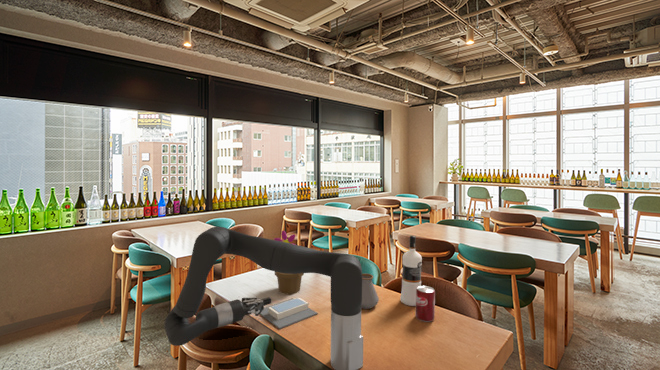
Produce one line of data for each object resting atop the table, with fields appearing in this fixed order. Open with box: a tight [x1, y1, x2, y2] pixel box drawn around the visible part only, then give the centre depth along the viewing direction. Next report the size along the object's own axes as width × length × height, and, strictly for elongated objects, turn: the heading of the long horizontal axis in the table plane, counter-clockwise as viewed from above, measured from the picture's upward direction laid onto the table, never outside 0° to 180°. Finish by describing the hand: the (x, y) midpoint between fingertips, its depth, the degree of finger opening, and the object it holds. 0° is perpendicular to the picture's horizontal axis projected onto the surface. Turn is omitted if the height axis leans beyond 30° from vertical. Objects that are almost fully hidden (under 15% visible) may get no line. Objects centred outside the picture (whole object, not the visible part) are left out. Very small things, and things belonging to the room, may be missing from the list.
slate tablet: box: [268, 297, 309, 320], centre depth 128 cm, size 7×3×15 cm
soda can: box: [414, 285, 436, 323], centre depth 124 cm, size 7×7×12 cm
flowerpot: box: [273, 230, 305, 295], centre depth 150 cm, size 14×14×30 cm
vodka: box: [399, 235, 423, 307], centre depth 138 cm, size 9×9×30 cm
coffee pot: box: [361, 273, 380, 310], centre depth 138 cm, size 21×12×15 cm, turn 58°
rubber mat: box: [259, 297, 318, 330], centre depth 128 cm, size 18×18×1 cm
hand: (270, 300), depth 122 cm, fingers closed
